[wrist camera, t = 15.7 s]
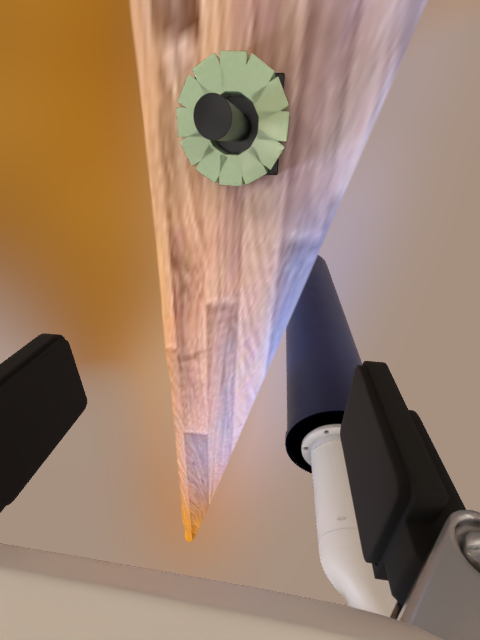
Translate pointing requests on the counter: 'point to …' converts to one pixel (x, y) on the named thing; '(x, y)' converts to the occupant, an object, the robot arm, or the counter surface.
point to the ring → (227, 80)
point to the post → (229, 122)
